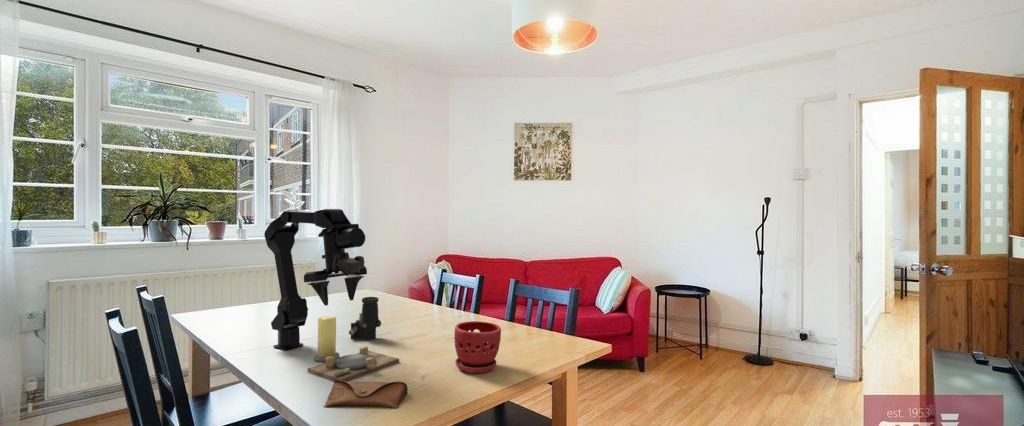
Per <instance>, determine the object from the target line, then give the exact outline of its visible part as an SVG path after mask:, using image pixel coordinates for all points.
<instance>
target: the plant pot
mask: <svg viewBox="0 0 1024 426" xmlns="http://www.w3.org/2000/svg"><path fill="white" fill-rule="evenodd" d="M476 330H477V331H476ZM501 334H502V328H501V326H500V325H499V324H496V323H493V322H487V321H475V320H474V321H464V322H460V323H459V322H458V323H457V324H456V325H455V327H454V347H455V352H456V353H455V354H456V357H457V358H456V359H455V366H456V367H457V368H458V369H459V370H461V371H462V372H465V373H470V374H471V373H473V374H475V373H476V374H478V373H487V372H488V371H491V370H492V369H494V368H495V367H496V365H497V360H496V358H497V355H498V353H499V349H500V345H501V339H502V338H501V337H502V335H501Z"/></svg>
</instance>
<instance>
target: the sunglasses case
mask: <svg viewBox="0 0 1024 426" xmlns="http://www.w3.org/2000/svg"><path fill="white" fill-rule="evenodd" d="M408 389H409V388H408V386H407V384H406V382H404V381H391V382H390V381H389V382H384V381H383V382H382V381H333V385H332V387H331V390H330V392H329V395H328V396H327V400H326V402H325V404H324V406H322V408H383V409H385V408H386V409H398V408H400V405H401V404H402V403H403V401H404V400H405V398H406V396H407V395H408Z"/></svg>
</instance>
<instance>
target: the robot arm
mask: <svg viewBox="0 0 1024 426" xmlns="http://www.w3.org/2000/svg"><path fill="white" fill-rule="evenodd" d="M288 223H289V224H290V225H287V224H288ZM300 224H312V225H315V226H316V227H317V228H322V230H321V231H320V232H319V233H318V236H317V237H318V238H323V248H324V249H323V251H324V254H322V255H321V259H323V260H325V261H324V262H325V268H323V269H322V270H315V271H309V272H308V271H307V272H305V273H304V275H303V283H307V285H308V286H311V287H312V289H313V290H314V291H315V292H316V294H317V295H318V297H319V299H320V300H321V302H322V303H323V306H325V307H326V306H329V293H328V286H329V284H330V280H328V279H331V278H337V277H344V276H346V277H344V282H345V287H346V292H347V295H348V298H349V301H351V302H352V301H354V298H355V295H356V290H357V288H358V284H359V282H360V281H361V280H362V279H363V278H365V275H367V274H368V270H367V267H366V266H365V258H364V256H362V255H356V256H355V257H353V258H352V257H350V253H349V252H346V250H347V249H353V248H360V247H363V245H364V244H365V242H366V234H365V232H364V231H363V229H362V228H360V225H359V223H351V222H350V220H349V218H348V217H347V216H346V214H345V212H344V210H343V209H341V208H340V209H339V208H322V209H318V210H315V211H305V210H304V211H303V210H298V209H295V210H294V209H289V210H287V209H286V210H284V211H283V212H282V213H281V214H280V216H278V217H277V218H275V219H274V220H272V221H271V222H270V223H269V225H268V226H267V228H266V229H265V231H264V239H265V242H266V245H267V247H268V249H270V251H271V252H272V253H273V255H274V261H275V267H276V273H277V279H278V285H279V292H280V300H279V303H278V304H277V307H276V309H277V313H276V316H275V317H274V318H273V320H271V323H270V324H271V325H270V326H271V329H272V330H273V331H274V330H275V331H277V344H274V345H273V348H276V349H278V350H279V349H280V350H283V351H288V350H291V349H296V348H298V347H303V346H304V343H303V342H300V340H301V339H300V338H301V337H300V327H304V326H306V325H305V324H306V322H307V318H308V313H309V312H308V311H309V307H308V303H307V302H308V301H307V299H306V297H304V298H302V297H301V295H299V291H298V286H297V285H298V284H297V279H296V274H295V273H296V272H295V267H294V262H293V256H292V255H293V254H292V250H293V248H294V245H295V242H296V240H295V239H296V238H295V236H296V235H297V233H298V231H300Z"/></svg>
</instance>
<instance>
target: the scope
mask: <svg viewBox="0 0 1024 426" xmlns="http://www.w3.org/2000/svg"><path fill="white" fill-rule="evenodd" d="M361 302H362V305H361V312H359V318H358V319H357V320H355V322H351V323H350V329H349V331H348V335H350V340H364V341H372V340H373V341H374V340H376V339H377V328H380V327H381V325H382V321H381V320H380V319H379V304H378V302H379V298H378V297H377V296H366V297H363V298H361Z"/></svg>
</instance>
